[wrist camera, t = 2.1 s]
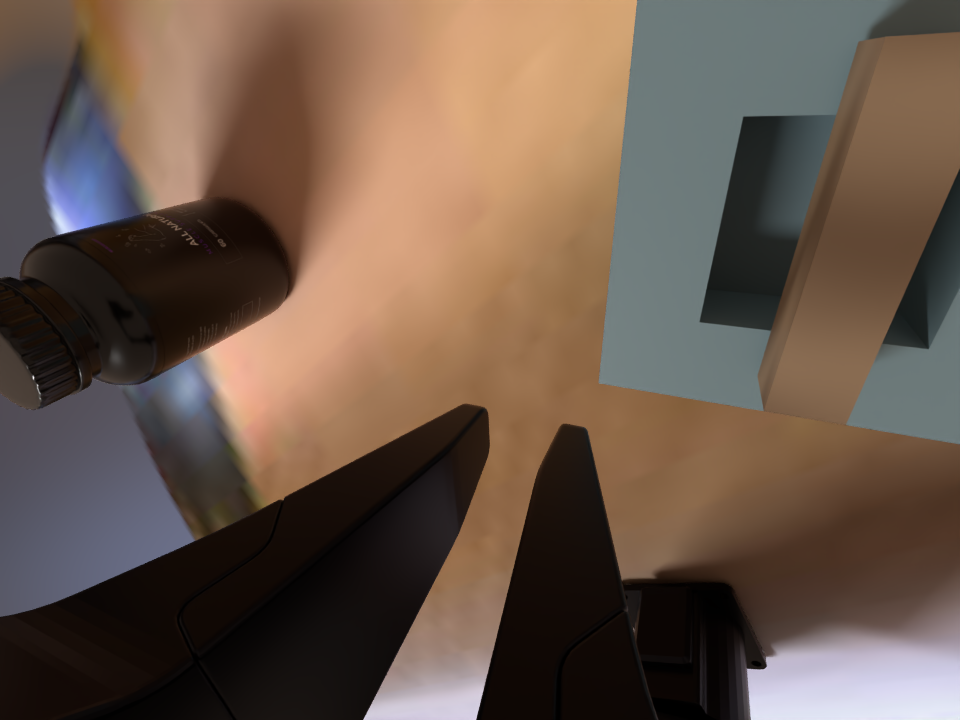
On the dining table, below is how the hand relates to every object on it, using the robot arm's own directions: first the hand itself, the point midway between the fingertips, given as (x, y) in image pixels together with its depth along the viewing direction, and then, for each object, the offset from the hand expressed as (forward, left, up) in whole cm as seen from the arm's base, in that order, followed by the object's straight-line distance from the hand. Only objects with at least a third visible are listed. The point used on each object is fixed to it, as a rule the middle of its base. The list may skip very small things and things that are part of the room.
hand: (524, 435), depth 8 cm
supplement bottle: (+7, +19, -13) cm, 25 cm away
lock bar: (-2, -6, -9) cm, 11 cm away
